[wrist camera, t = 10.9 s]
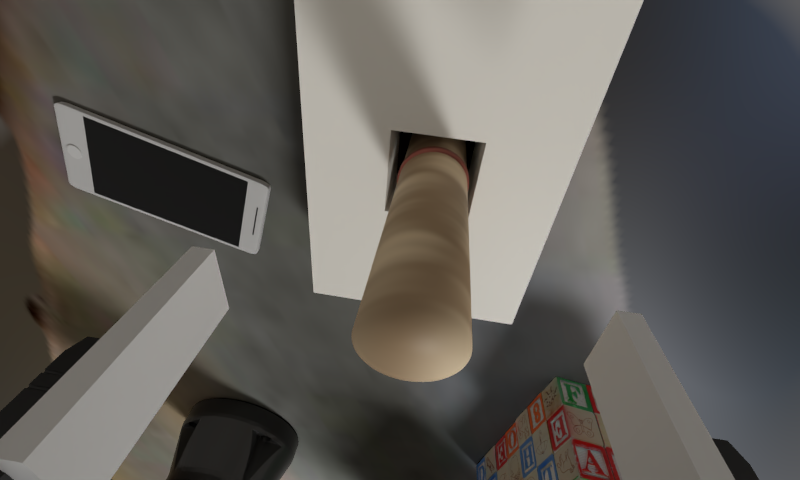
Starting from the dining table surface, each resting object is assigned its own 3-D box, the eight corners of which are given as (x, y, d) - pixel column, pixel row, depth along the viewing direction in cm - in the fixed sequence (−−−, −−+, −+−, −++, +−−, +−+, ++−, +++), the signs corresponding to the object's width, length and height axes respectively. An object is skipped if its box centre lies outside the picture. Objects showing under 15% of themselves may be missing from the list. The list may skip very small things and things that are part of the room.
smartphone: (62, 97, 26) (50, 101, 25) (273, 181, 28) (268, 187, 27) (78, 180, 30) (68, 186, 29) (260, 249, 32) (255, 256, 31)
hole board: (333, 250, 30) (313, 292, 26) (326, -66, 18) (288, -79, 14) (504, 276, 29) (511, 324, 25) (613, -35, 18) (659, -39, 13)
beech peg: (405, 168, 25) (348, 372, 12) (411, 111, 23) (348, 289, 10) (461, 176, 25) (462, 392, 12) (473, 120, 23) (489, 312, 10)
